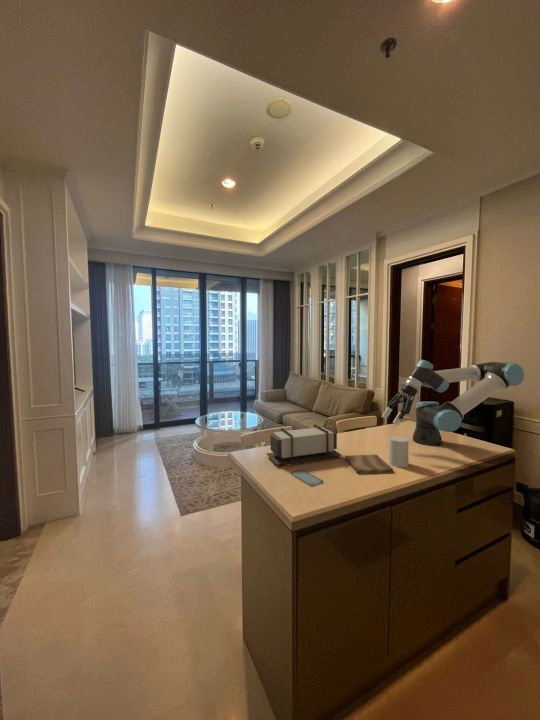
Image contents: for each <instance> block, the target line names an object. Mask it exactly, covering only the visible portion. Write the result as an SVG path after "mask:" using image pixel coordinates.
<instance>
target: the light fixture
mask: <svg viewBox="0 0 540 720" xmlns="http://www.w3.org/2000/svg"><path fill="white" fill-rule="evenodd" d="M269 436H270V437H269V438H270V439H269V441H270V442H269V443H270V451H271V452H267V453H266V455H267V457H269V459H270V460H271V461H272V462H273V463H274V464H275V465H277V466H278V465H279V466H278V467H281V466H280V465H285V466H288V465H287V464H292V465H296V463H298V464H303V463H304V462H305V463H310V462H311V461H312V462H318V460H319V461H323V460H331V459H337V458H338V457H339V456H342V454H341V453H340V452H338V451H337V449H338V435H337V432H334V431H332V430H330V429H329V428H326V427H323V426H319V425H317V424H314V423H313V427H310V428H302V429H293V430H286V429H284V428H283V427H280V431H274V432H273V434H272V433H270V435H269ZM312 462H311V463H312Z"/></svg>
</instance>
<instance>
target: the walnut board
mask: <svg viewBox="0 0 540 720" xmlns="http://www.w3.org/2000/svg"><path fill="white" fill-rule="evenodd" d="M344 459H345V461H346V462H347V463H348V465H350V467H351V468H352V469H353V470H354V471H355V473H356V474H357V475H361V474H362V475H363V474H385V473H387V474H388V473H390V472H391V473H394V468H393V467H392V466H391V465H389V464H388V463H387V462H386V461H385V460H383V459H382V458H381V457H380V456H379V455H378V454H359V455H358V454H357V455H351V454H350V455H345V456H344Z"/></svg>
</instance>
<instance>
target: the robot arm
mask: <svg viewBox="0 0 540 720" xmlns="http://www.w3.org/2000/svg"><path fill="white" fill-rule="evenodd" d="M414 366H415V367H413V370H412V371H411V373H410V374H409V376H408V377H407V378H406V380H405V382H404V383H403V385H402V386H401V388H400V390H401V392H400V391H398V392H397V393H396V395H394V396H393V397H392V398H391V400H389V401H388V402H387V403H386V405H387V407H386V409H385V410H384V412H383V414H381V417H382V418H383V419H385V420H387V419H388V417H389V416H390V415H391V412H392V411H393V410H394V408H395V407H396V406H398V405H399V404H401V409H400V410H399V411H398V414H397V415H396V417H395V418H394V420H393V421H392V423H393V424H394V425H396V426H399V424H400V423H401V421H402V420H403V418H404V417H405V415H409V414H410V412H411V409H412V405H413V402H414V400H415V396H416V394H417V393H418V391H419V390H420V389H421V387H425V388H430V389H433V390H434V391H436V392H438V393H444V392H445V391H447V389H448V388H449V386H450V384H451V383H457V382H465V381H472V382H477V383H476V384H474V385H473V386H471V387H470V388H468V389H467V390H465V391H464V392H463V393H462V394H460V395H459V396H457V397H455V399H453V400H452V401H445V402H444V403H442V404H441V405H440V403H439V402H438V401H417V403H416V404H415V428H414V431H413V434H412V441H413V442H414V441H415V442H414V443H417V444H421V445H426V446H439V444H440V445H441V443H442V444H443V438H442V435H441V432H440V431H442V432H447V433H451V432H455V431H457V430H458V429H459V428H460V427H461V426H462V425H461V423H462V422H463V419H464V418H465V417H464V415H466V414H467V413H468V412H470V411H471V410H473V409H474V408H475V407H477V406H478V405H479V404H481V403H482V402H484V401H485V400H486V399H488V398H489V397H491V396H492V395H493V394H495V393H496V392H498V391H505V390H506V389H508V388H509V387H517V386H519V385H522V383H523V381H524V380H525V370H524V368H523V367H522V366H521V365H519V364H518V363H513V362H499V361H489V362H482V363H477V364H476V363H475V364H471V365H469V366H467V367H465V366H464V367H457V368H450V369H441V370H433V368H434V364H433V363H431V362H430V361H428V360H424V359H420V360H419V361H418V362H417V363H416V365H414Z"/></svg>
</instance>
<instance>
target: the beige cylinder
mask: <svg viewBox="0 0 540 720" xmlns="http://www.w3.org/2000/svg"><path fill="white" fill-rule="evenodd" d="M389 464H390V466H391V467H392V466H393V467H395V466H396V467H395V468H407V467H409V439H408V438H407V437H404V436H397V435H395V436H394V435H393V436H390V437H389Z"/></svg>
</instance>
